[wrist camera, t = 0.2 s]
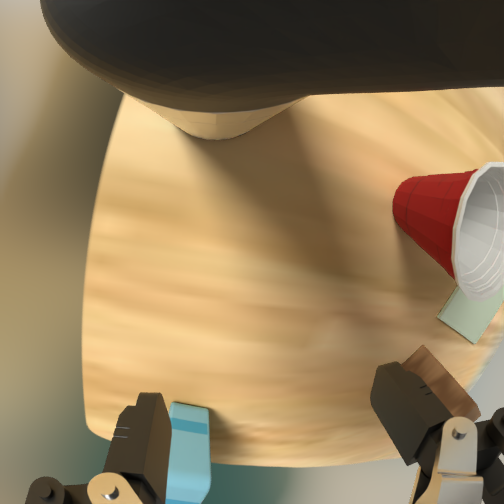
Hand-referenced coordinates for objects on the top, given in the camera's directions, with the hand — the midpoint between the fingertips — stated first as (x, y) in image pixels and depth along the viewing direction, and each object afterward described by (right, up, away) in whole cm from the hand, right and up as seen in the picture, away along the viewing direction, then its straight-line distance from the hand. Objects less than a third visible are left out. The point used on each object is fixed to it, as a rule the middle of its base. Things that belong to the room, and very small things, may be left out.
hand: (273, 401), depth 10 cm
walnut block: (+23, -11, +25) cm, 36 cm away
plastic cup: (+16, +11, +17) cm, 26 cm away
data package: (-10, -18, +24) cm, 32 cm away
